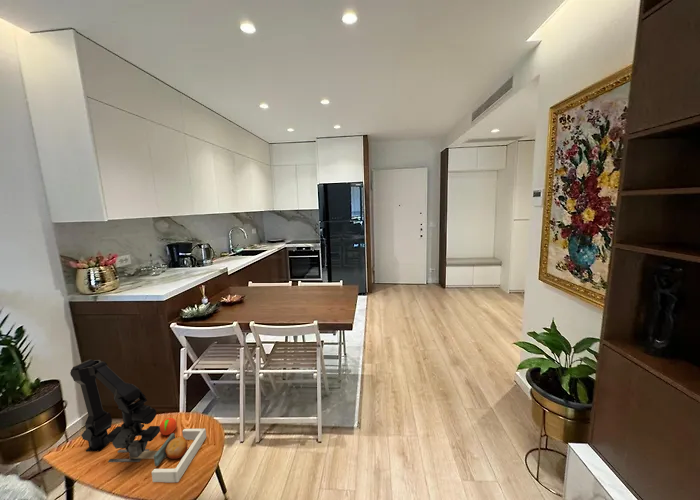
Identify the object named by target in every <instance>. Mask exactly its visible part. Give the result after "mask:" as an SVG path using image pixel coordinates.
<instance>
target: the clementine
mask: <svg viewBox="0 0 700 500" xmlns="http://www.w3.org/2000/svg"><path fill="white" fill-rule="evenodd" d="M159 426H160V432H159V433H160V434H161V435H163V436H168V435H169V436H170V435H171V434H172V433H174V431H175V430H176V428H177V420H176V419H175V418H173V417H167V418H165V419H164V420H162V422H160V424H159Z"/></svg>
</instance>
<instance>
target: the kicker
mask: <svg viewBox="0 0 700 500" xmlns="http://www.w3.org/2000/svg"><path fill="white" fill-rule="evenodd" d="M174 438H176V434H175V433H174V432H172V433H171V434H169V436H168V438H167V439H166V440H164V443H163V444H162V445H161V446H160V448H159V449H158V450H149V451H144V452H142V450H141V444H140V443H138V441H139V440H140V439H134V441H133V443H132V444H130V445H129V446H128V450H129V452H128V455H129V459H141V460H143V459H144V460H151V459H153V461H154V462H153V463H154V466H155V467H158V466H159V465H160V464H161V462H163V460H164V459H166V458H168V456H167V455H166V452H165V450H166V447H167V445H168V443H169V442H170V441H171V440H173V439H174Z"/></svg>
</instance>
